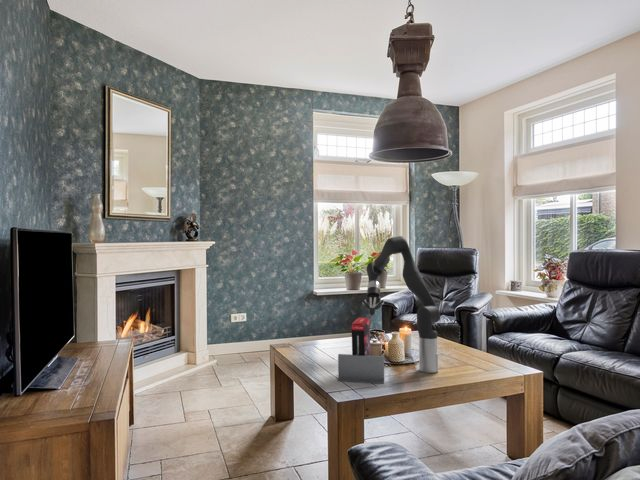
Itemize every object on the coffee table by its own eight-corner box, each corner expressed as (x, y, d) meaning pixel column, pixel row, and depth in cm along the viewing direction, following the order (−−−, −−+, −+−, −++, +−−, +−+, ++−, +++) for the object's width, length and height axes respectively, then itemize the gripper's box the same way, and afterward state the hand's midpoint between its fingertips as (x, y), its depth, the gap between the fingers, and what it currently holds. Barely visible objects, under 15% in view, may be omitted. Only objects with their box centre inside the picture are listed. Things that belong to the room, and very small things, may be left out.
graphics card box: (365, 380, 225) (365, 323, 225) (351, 379, 227) (350, 323, 227) (371, 370, 242) (370, 317, 241) (357, 369, 243) (357, 317, 243)
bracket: (385, 375, 233) (385, 351, 232) (383, 383, 219) (383, 358, 219) (342, 372, 237) (341, 349, 237) (337, 381, 224) (337, 356, 224)
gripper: (361, 286, 271) (359, 310, 260) (384, 286, 269) (383, 310, 257) (363, 294, 277) (360, 318, 265) (385, 294, 274) (384, 318, 262)
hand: (372, 314), depth 261 cm, fingers closed
